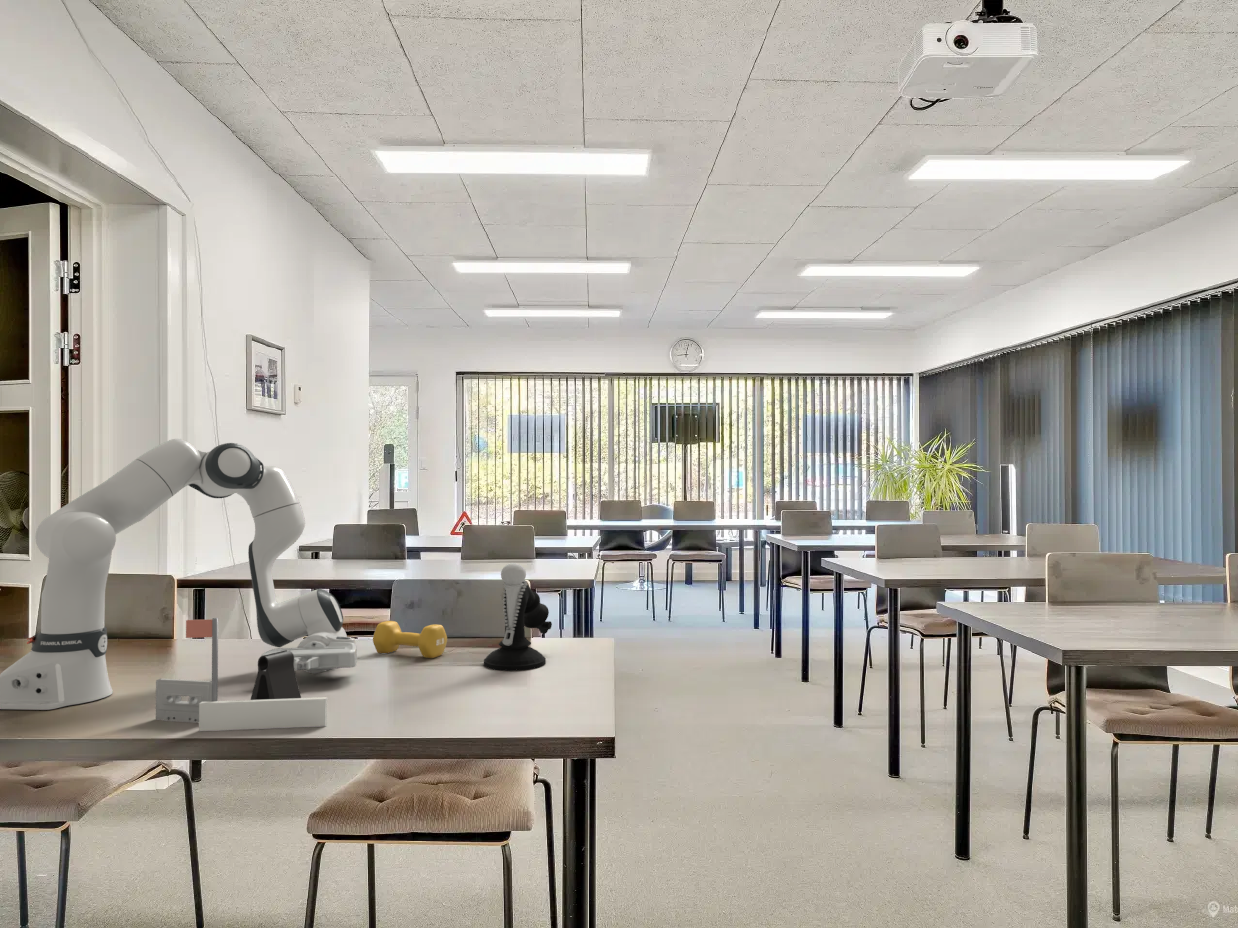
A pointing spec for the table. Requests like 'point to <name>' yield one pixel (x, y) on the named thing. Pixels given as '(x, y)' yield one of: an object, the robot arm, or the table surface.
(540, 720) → the table surface
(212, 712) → the flag on white base
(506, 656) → the sculpture
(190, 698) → the cassette
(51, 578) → the robot arm
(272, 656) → the phone stand
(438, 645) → the dumbbell
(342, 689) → the table surface
